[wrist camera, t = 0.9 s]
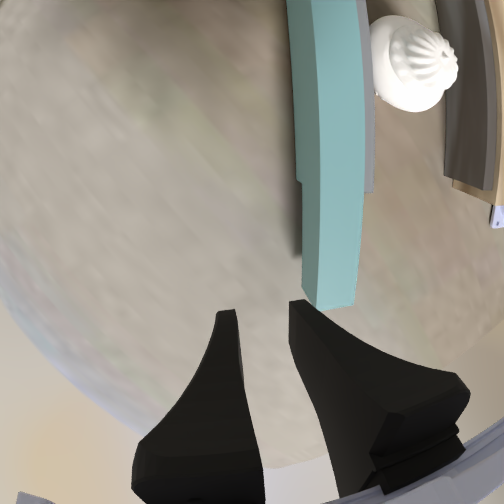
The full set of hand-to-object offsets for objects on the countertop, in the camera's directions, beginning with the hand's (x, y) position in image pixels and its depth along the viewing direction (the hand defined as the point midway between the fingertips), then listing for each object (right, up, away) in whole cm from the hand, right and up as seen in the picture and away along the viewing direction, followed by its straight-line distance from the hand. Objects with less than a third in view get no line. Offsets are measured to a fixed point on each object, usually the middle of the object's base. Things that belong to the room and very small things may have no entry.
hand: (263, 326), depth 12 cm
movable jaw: (+4, +12, +5) cm, 14 cm away
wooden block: (+18, +17, +6) cm, 25 cm away
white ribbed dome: (+8, +15, +5) cm, 18 cm away
